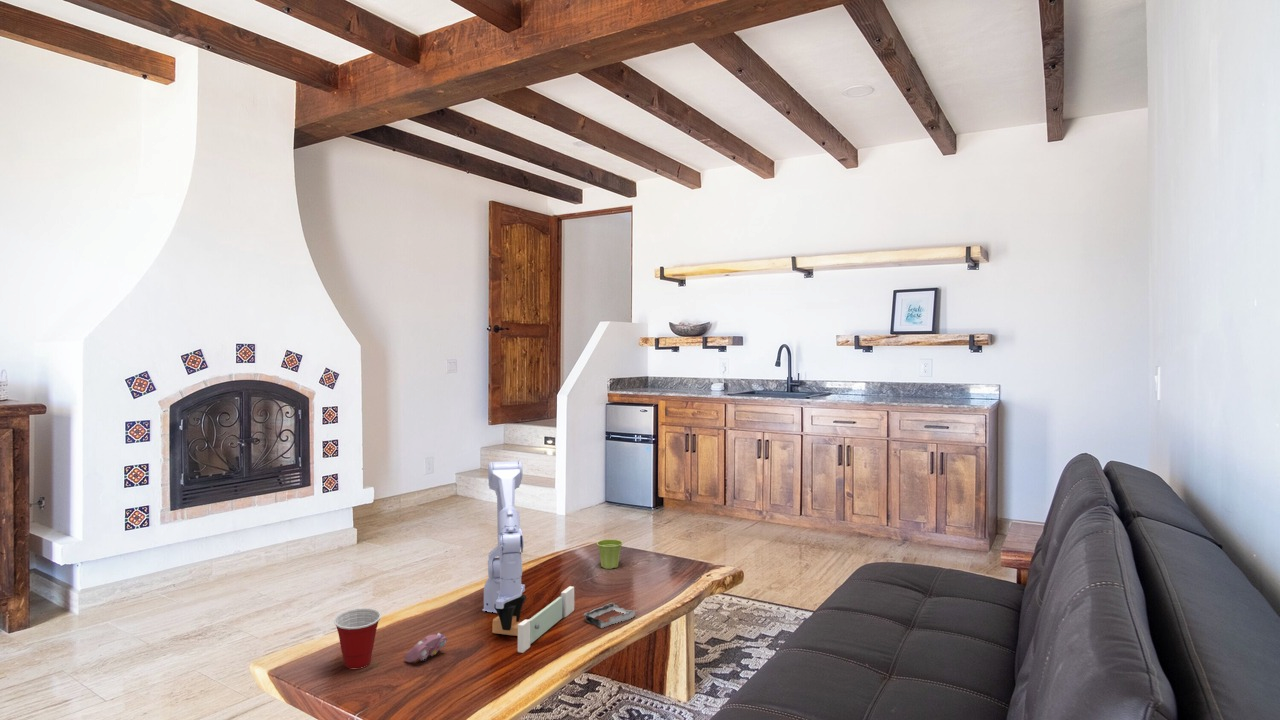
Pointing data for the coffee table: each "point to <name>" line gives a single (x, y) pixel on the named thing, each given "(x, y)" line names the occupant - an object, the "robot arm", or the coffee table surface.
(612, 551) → the plant pot
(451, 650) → the coffee table surface
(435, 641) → the pink elongated piece
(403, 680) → the coffee table surface
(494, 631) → the stepped wooden block
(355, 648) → the plastic cup
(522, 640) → the door frame
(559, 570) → the coffee table surface
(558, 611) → the door
